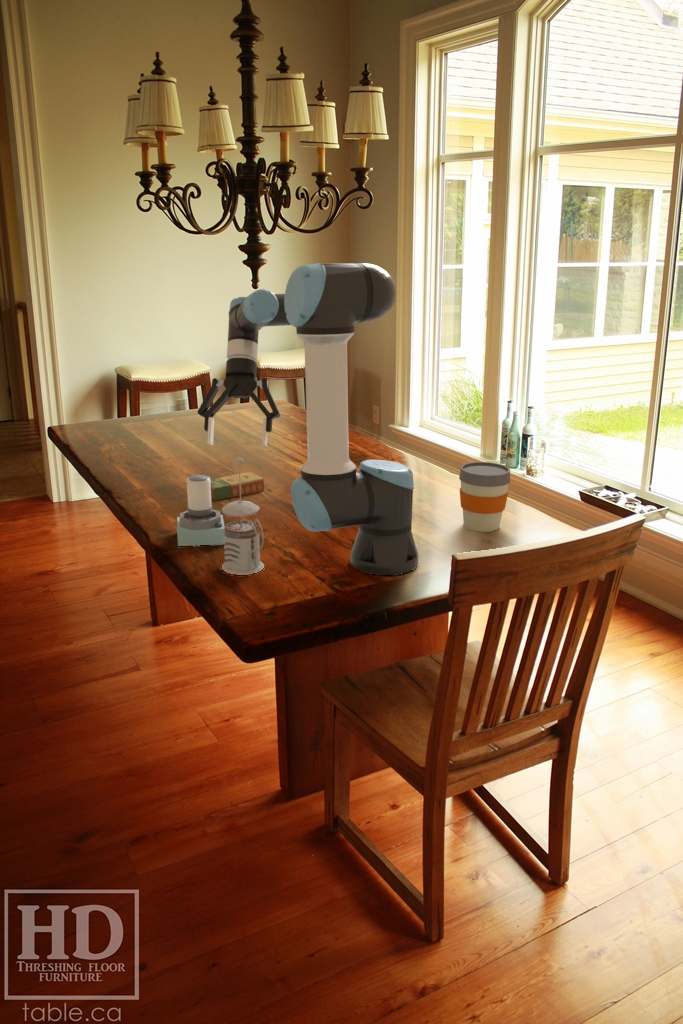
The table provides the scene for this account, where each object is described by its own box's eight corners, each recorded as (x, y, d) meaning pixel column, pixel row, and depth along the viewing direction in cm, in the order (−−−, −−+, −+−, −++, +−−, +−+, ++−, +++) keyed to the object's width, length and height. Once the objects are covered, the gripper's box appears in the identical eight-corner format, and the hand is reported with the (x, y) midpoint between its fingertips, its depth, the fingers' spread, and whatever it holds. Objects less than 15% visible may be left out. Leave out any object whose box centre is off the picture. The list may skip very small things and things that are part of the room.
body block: (225, 544, 199) (224, 520, 197) (178, 547, 197) (176, 523, 195) (223, 529, 208) (222, 507, 206) (177, 532, 206) (176, 509, 204)
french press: (247, 555, 193) (243, 449, 184) (279, 570, 185) (277, 460, 176) (211, 566, 186) (206, 457, 178) (243, 582, 178) (239, 469, 170)
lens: (213, 526, 199) (211, 480, 195) (188, 527, 198) (186, 481, 194) (212, 518, 204) (210, 473, 201) (188, 519, 203) (185, 474, 200)
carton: (264, 492, 238) (264, 477, 237) (213, 502, 229) (213, 487, 228) (250, 484, 245) (249, 470, 243) (199, 494, 236) (199, 479, 234)
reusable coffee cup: (486, 514, 221) (490, 459, 216) (516, 529, 210) (521, 472, 205) (446, 521, 215) (449, 465, 210) (475, 537, 205) (479, 478, 200)
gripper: (293, 365, 211) (289, 448, 208) (197, 365, 214) (192, 447, 211) (288, 356, 204) (284, 442, 201) (188, 356, 207) (183, 440, 204)
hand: (237, 445), depth 206 cm, fingers open, 13 cm apart
